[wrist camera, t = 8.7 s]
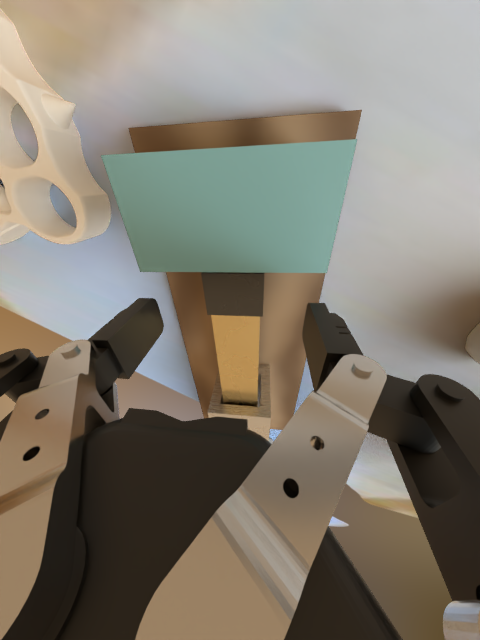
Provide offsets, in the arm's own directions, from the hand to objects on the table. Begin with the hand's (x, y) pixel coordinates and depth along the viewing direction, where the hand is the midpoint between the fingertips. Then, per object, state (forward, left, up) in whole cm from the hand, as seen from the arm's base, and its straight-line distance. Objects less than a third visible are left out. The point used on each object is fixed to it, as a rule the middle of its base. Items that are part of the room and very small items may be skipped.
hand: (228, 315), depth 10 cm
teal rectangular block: (0, -4, -8) cm, 9 cm away
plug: (0, +6, -6) cm, 8 cm away
